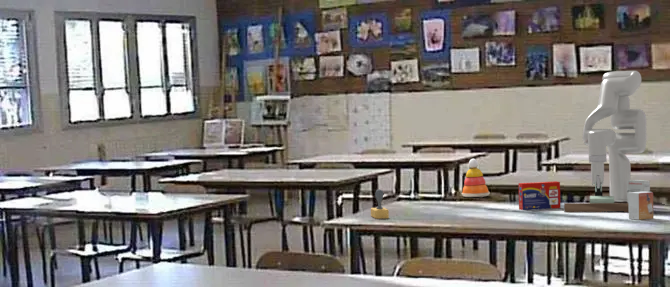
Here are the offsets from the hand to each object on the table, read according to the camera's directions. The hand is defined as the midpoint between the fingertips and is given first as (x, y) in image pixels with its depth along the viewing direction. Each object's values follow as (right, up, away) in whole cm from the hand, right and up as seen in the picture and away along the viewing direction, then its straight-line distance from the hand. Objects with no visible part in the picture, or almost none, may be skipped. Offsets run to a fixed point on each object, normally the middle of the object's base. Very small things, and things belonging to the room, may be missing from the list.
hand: (598, 200), depth 426 cm
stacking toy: (-44, -2, +70) cm, 82 cm away
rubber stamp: (-96, -7, -10) cm, 97 cm away
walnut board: (-4, -4, -14) cm, 15 cm away
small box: (+5, -5, -43) cm, 44 cm away
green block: (-1, -4, -8) cm, 9 cm away
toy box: (-25, -4, +5) cm, 26 cm away
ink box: (+17, -3, -1) cm, 17 cm away
